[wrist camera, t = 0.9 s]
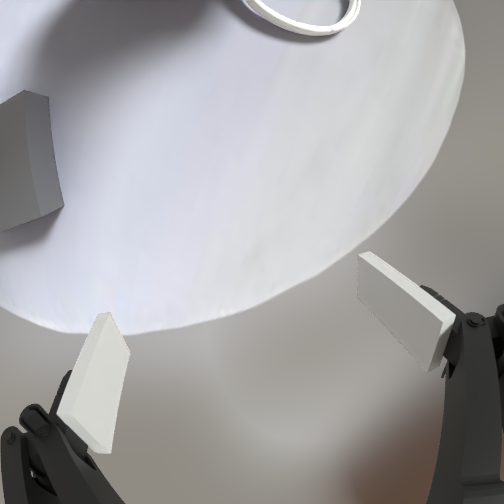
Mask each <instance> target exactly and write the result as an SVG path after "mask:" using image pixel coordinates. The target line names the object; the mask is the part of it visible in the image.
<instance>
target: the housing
mask: <svg viewBox="0 0 504 504" xmlns="http://www.w3.org/2000/svg"><path fill="white" fill-rule="evenodd" d="M63 206H64V202H63V198H62V193H61V189H60V184H59V179H58V174H57V168H56V162H55V156H54V150H53V142H52V134H51V125H50V114H49V99H48V97H47V96H43V95H40V94H36V93H32V92H29V91H25V90H24V91H22V92H20V93H18V94H17V95H15V96H13V97H12V98H10V99H8V100H7V101H5V102H4V103H2V104H1V105H0V233H1V232H3V231H6V230H8V229H11V228H13V227H16V226H19V225H21V224H24V223H27V222H29V221H32V220H35V219H38V218H41V217H43V216H45V215H47V214H49V213H51V212H53V211H55V210H57V209H59V208H61V207H63Z"/></svg>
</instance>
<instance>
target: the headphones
mask: <svg viewBox="0 0 504 504" xmlns="http://www.w3.org/2000/svg"><path fill="white" fill-rule="evenodd" d="M245 1H246V2H247V3H248V5H249V6H250V7H251V8H252V9H253V10H254V11H255V12H256V13H258V14H259V15H260V16H261V17H263V18H264V19H266V20H267V21H269V22H271V23H272V24H274V25H276V26H278V27H281V28H283V29H285V30H288V31H291V32H294V33H298V34H303V35H309V36H323V35H330V34H334V33H337V32H339V31H342V30H343V29H345V28H346V27H348V26H349V25H350V24H351V23H352V22H353V21H354V20H355V18H356V17H357V15H358V13H359V10H360V4H361V0H350V2H349V7H348V10H347V12H346V14H345V15H344V17H343V18H342V19H341V20H340V21H339V22H337V23H336V24H334V25H331V26H313V25H308V24H303V23H300V22H297V21H294V20H291V19H289V18H286V17H284V16H282V15H280V14H278V13H276V12H275V11H273V10H272V9H270V8H269V7H267V6H266V5H265V4H263V3H262V2H261V1H260V0H245Z"/></svg>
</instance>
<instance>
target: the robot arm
mask: <svg viewBox="0 0 504 504" xmlns="http://www.w3.org/2000/svg"><path fill="white" fill-rule="evenodd" d="M357 298H358V299H359V300H360V301H361V303H362V304H364V306H365V307H366V308H367V309H368V310H369V311H370V312H371V313H372V314H373V315H374V316H375V317H376V318H377V319H378V320H379V321H380V322H381V323H382V324H383V326H384V327H385V328H386V329H387V330H388V331H389V332H390V333H391V334H392V335H393V336H394V337H395V338H396V339H397V341H398V342H399V343H400V344H401V345H402V346H403V347H404V348H405V349H406V350H407V351H408V352H409V354H410V355H411V356H412V357H413V358H414V359H415V360H416V361H417V363H418V364H419V365H420V366H421V367H422V368H423V369H424V370H425V371H426V372H427V373H428V372H430V371H432V370H433V369H435V368H436V367H438V366H439V365H440V363H441V360H442V358H443V356H444V357H445V358H446V359H447V363H446V366H445V368H444V371H443V373H442V376H441V377H442V378H443V377H444V375H445V373H446V382H445V401H444V414H443V423H442V432H441V439H440V446H439V451H438V457H437V463H436V468H435V472H434V476H433V481H432V485H431V489H430V493H429V496H428V500H427V503H426V504H504V482H503V481H501V480H500V477H499V476H500V462H501V445H502V428H503V432H504V304H502V305H499V306H498V308H497V311H496V313H495V316H491V317H487V318H485V317H484V316H483V315H480V314H479V313H474V312H470V313H467V314H464V313H463V312H462V311H460V310H459V309H458V308H457V307H455V306H454V305H453V304H451V303H450V302H449V301H447V300H445V299H444V298H443V297H442V296H441V295H439V294H438V293H437V292H435V291H434V290H432V289H431V288H428V287H426V286H423V285H421V286H418V285H416V284H415V283H414V282H412V281H411V280H410V279H408V278H407V277H405V276H404V275H403V274H401V273H400V272H399V271H397V270H396V269H394V268H393V267H391V266H390V265H389V264H387V263H386V262H384V261H383V260H381V259H380V258H378V257H377V256H376V255H374V254H372V253H371V252H365V253H362V254H358V294H357ZM129 356H130V351H129V349H128V347H127V345H126V343H125V341H124V339H123V337H122V335H121V333H120V331H119V329H118V327H117V325H116V323H115V321H114V319H113V317H112V314H111V312H107V313H102V314H98V316H97V318H96V320H95V322H94V324H93V326H92V328H91V330H90V332H89V334H88V337H87V339H86V341H85V343H84V345H83V347H82V350H81V352H80V355H79V357H78V359H77V362H76V364H75V366H74V368H73V370H69V371H68V372H67V374H66V375H65V376H64V377H63V379H62V381H61V384H60V388H59V389H58V391H57V395H56V396H55V399H54V402H53V404H52V407H51V410H50V412H49V415H48V414H47V413H46V412H45V410H44V409H43V408H42V407H41V406H40V405H38V404H31V405H29V406H27V407H26V408H25V409H24V410H23V411H22V413H21V415H20V418H19V423H20V424H21V425H22V426H23V427H24V429H26V430H27V431H28V432H27V433H22V432H21V431H20V430H19V429H18V428H17V427H14V426H11V427H8V428H7V429H6V430H4V432H3V434H2V436H1V472H2V483H3V492H4V499H5V504H125V503H124V502H123V500H122V499H121V498H120V497H119V496H118V494H117V493H116V492H115V490H114V489H113V488H112V486H111V485H110V484H109V482H108V481H107V480H106V478H105V477H104V475H103V474H102V472H101V471H100V469H99V468H98V467H97V465H96V463H95V462H94V460H93V459H92V457H91V456H90V455H89V454H88V453H87V448H88V446H89V447H90V448H91V449H92V450H93V451H94V452H96V453H108V454H111V448H112V443H113V436H114V429H115V423H116V418H117V412H118V407H119V402H120V396H121V392H122V387H123V382H124V378H125V373H126V369H127V364H128V360H129ZM31 471H32V472H33V477H32V476H31Z"/></svg>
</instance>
